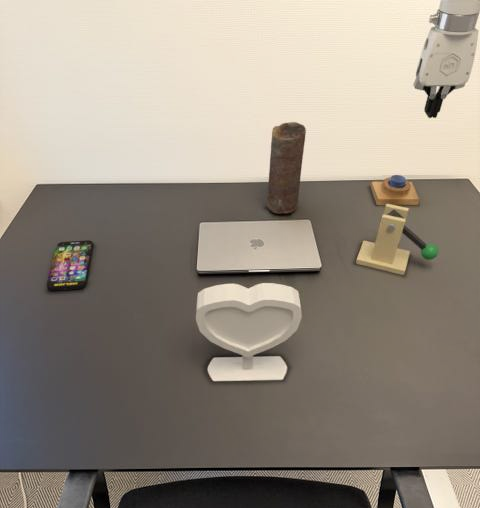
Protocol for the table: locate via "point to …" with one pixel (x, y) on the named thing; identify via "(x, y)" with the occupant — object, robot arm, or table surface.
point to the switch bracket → (386, 244)
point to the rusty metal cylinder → (285, 167)
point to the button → (397, 181)
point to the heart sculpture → (248, 327)
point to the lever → (418, 240)
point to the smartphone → (70, 265)
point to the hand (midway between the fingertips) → (430, 115)
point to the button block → (394, 193)
